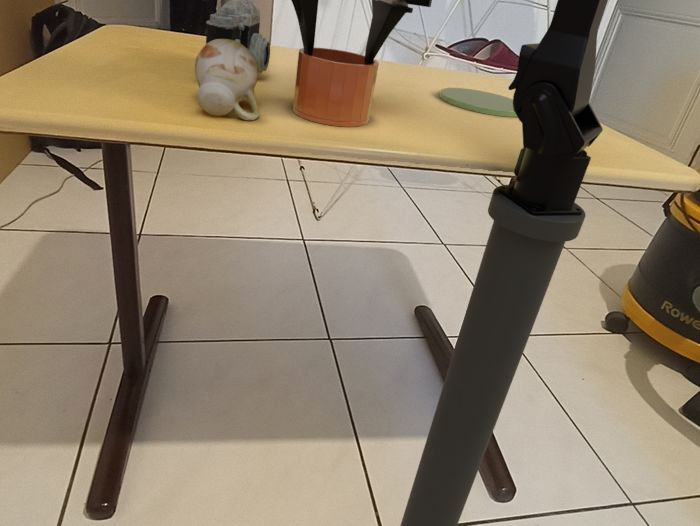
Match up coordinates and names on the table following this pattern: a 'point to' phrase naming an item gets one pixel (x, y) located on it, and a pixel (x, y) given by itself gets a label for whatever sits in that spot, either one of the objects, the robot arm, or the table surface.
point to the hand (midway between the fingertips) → (338, 61)
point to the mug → (226, 78)
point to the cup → (334, 87)
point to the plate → (479, 101)
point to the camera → (240, 29)
